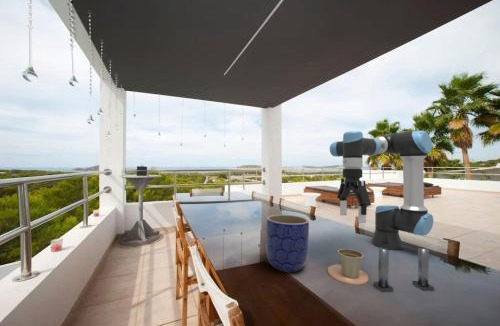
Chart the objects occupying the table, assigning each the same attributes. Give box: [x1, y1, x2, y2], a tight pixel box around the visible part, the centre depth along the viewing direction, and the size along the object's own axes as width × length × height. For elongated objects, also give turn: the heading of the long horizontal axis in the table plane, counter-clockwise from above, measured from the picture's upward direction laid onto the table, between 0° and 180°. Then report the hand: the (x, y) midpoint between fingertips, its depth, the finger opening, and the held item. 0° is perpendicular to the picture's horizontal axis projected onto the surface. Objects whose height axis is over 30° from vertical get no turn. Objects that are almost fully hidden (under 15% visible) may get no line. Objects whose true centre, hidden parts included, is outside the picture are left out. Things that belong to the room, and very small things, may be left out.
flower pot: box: [337, 248, 364, 278], centre depth 87 cm, size 9×9×9 cm
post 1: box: [373, 247, 394, 293], centre depth 79 cm, size 4×4×14 cm
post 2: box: [412, 246, 435, 292], centre depth 81 cm, size 4×4×14 cm
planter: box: [265, 214, 310, 273], centre depth 95 cm, size 18×18×21 cm
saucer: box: [327, 264, 369, 286], centre depth 88 cm, size 15×15×1 cm
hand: (352, 218), depth 91 cm, fingers open, 13 cm apart
